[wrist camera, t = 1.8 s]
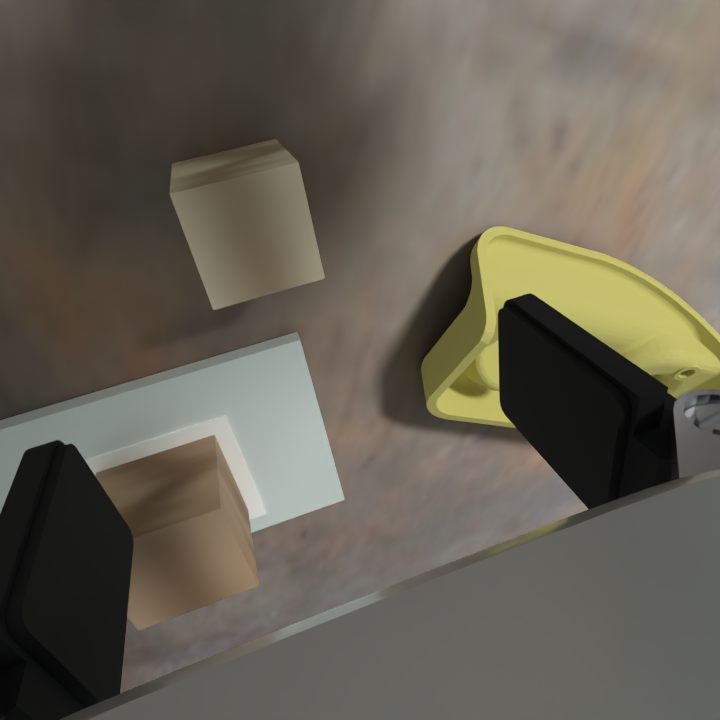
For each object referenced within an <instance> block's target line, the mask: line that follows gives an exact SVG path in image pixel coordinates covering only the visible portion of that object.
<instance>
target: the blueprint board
mask: <svg viewBox="0 0 720 720" xmlns="http://www.w3.org/2000/svg"><path fill="white" fill-rule="evenodd" d="M212 435H215V437H216V439H217V441H218V443H219V446H220V448H221V450H222V452H223V455H224V457H225V459H226V461H227V464H228V466H229V468H230V470H231V473H232V475H233V477H234V479H235V481H236V484H237V486H238V488H239V490H240V493H241V495H242V497H243V499H244V502H245V504H246V506H247V508H248V513H249V520H250V527H251V533H252V532H255V531H257V530H260V529H263V528H266V527H269V526H272V525H274V524H277V523H280V522H283V521H286V520H289V519H291V518H294V517H297V516H300V515H303V514H306V513H308V512H311V511H314V510H317V509H320V508H323V507H325V506H328V505H331V504H334V503H337V502H340V501H342V500H345V499H344V496H343V492H342V488H341V485H340V481H339V478H338V474H337V470H336V467H335V463H334V460H333V456H332V452H331V449H330V445H329V442H328V438H327V434H326V431H325V427H324V424H323V420H322V416H321V413H320V409H319V406H318V402H317V398H316V395H315V391H314V388H313V384H312V380H311V377H310V373H309V370H308V366H307V362H306V359H305V355H304V352H303V348H302V344H301V341H300V338H299V335H298V333H297V332H295V333H291V334H288V335H285V336H281V337H278V338H274V339H271V340H268V341H264V342H261V343H258V344H254V345H251V346H248V347H244V348H241V349H238V350H234V351H231V352H227V353H224V354H221V355H217V356H214V357H211V358H207V359H204V360H201V361H197V362H194V363H191V364H187V365H184V366H180V367H177V368H174V369H170V370H167V371H164V372H160V373H157V374H154V375H150V376H147V377H144V378H140V379H137V380H133V381H130V382H127V383H123V384H120V385H117V386H113V387H110V388H107V389H103V390H100V391H97V392H93V393H90V394H87V395H83V396H80V397H76V398H73V399H70V400H66V401H63V402H60V403H56V404H53V405H50V406H46V407H43V408H40V409H36V410H33V411H29V412H26V413H23V414H19V415H16V416H13V417H9V418H6V419H3V420H0V513H1V511H2V508H3V506H4V503H5V500H6V498H7V495H8V493H9V490H10V487H11V485H12V482H13V480H14V477H15V475H16V472H17V469H18V467H19V464H20V462H21V459H22V456H23V454H24V452H25V451H26V450H27V449H30V448H33V447H36V446H39V445H43V444H46V443H49V442H52V441H55V440H60V441H62V442H63V443H64V444H65V445H67V444H73V445H75V447H76V448H77V449H78V451H79V452H80V454H81V455H82V457H83V458H84V460H85V461H86V463H87V464H88V466H89V467H90V469H91V470H92V472H93V473H94V475H95V476H96V473H97V472H100V471H103V470H106V469H109V468H112V467H115V466H118V465H121V464H125V463H128V462H131V461H134V460H137V459H140V458H143V457H146V456H149V455H153V454H156V453H159V452H162V451H165V450H168V449H171V448H174V447H178V446H181V445H184V444H187V443H190V442H193V441H196V440H199V439H202V438H206V437H209V436H212Z"/></svg>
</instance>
